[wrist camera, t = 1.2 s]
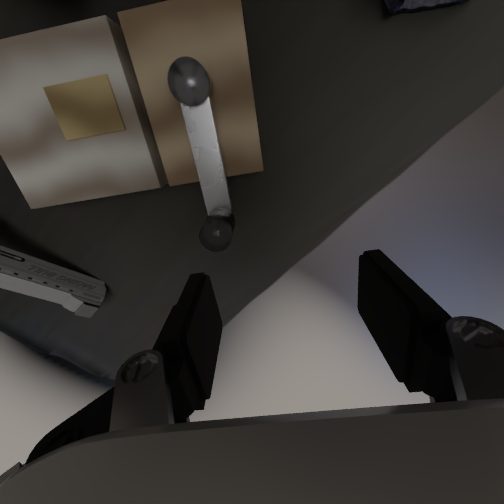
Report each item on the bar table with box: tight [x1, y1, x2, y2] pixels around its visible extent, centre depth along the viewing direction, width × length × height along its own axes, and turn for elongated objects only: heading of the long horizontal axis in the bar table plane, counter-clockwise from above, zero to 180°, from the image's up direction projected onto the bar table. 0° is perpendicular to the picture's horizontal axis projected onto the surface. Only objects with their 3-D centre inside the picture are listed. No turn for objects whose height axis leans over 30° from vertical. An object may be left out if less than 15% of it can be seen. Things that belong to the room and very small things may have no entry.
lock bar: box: [167, 56, 235, 252], centre depth 21 cm, size 15×3×6 cm, turn 9°
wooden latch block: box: [0, 0, 264, 209], centre depth 25 cm, size 14×26×5 cm, turn 99°
